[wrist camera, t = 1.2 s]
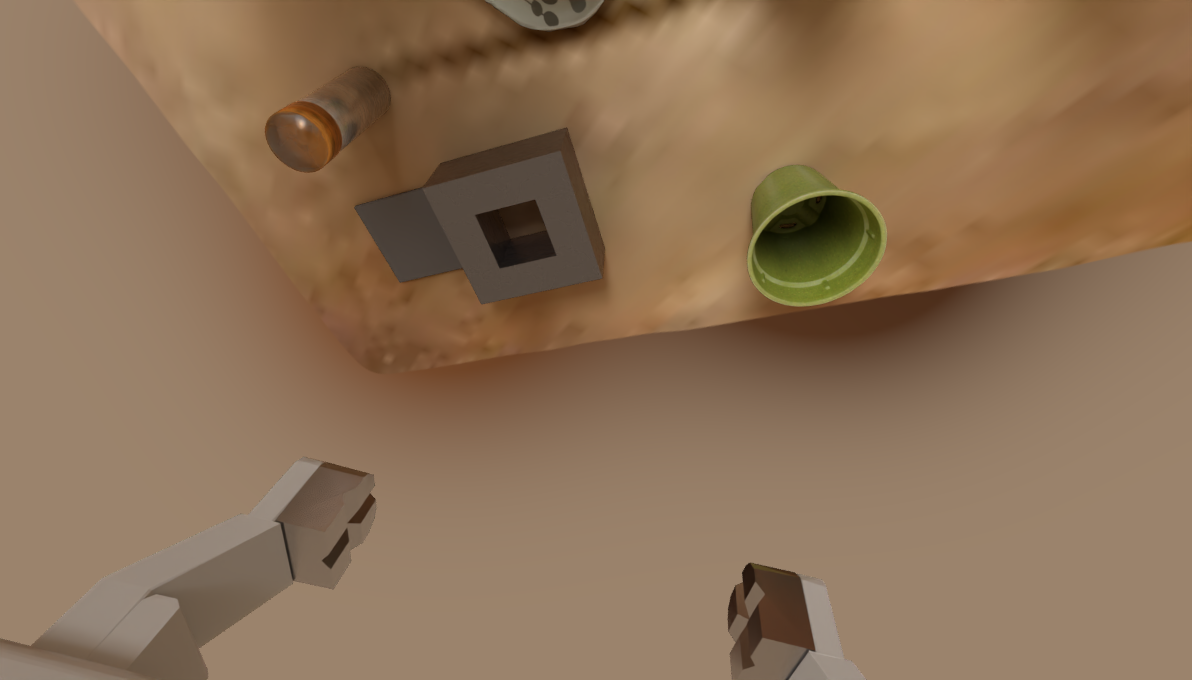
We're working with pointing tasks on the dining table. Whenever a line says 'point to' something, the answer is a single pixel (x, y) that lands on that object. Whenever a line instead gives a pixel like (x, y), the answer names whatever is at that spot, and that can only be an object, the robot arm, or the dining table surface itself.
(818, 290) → the plant pot
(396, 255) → the mat
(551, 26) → the salad plate
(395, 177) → the dining table surface
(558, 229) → the grey square block
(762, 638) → the robot arm
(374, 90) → the cylindrical container
